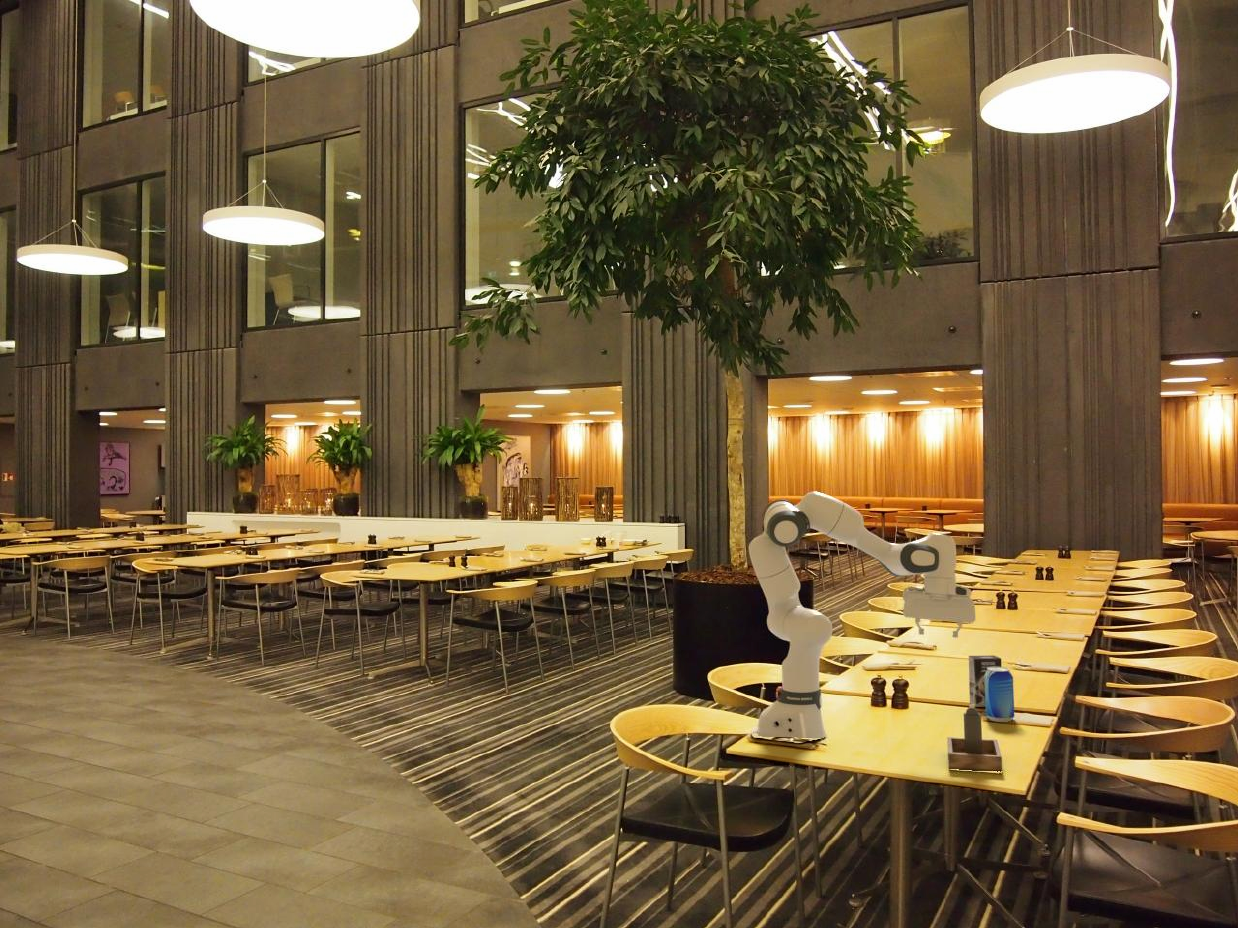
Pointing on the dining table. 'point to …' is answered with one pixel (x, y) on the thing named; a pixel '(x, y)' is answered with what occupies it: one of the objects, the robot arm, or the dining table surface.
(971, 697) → the coffee box
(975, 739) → the pepper mill
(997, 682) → the beer can
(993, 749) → the box
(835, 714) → the dining table surface
